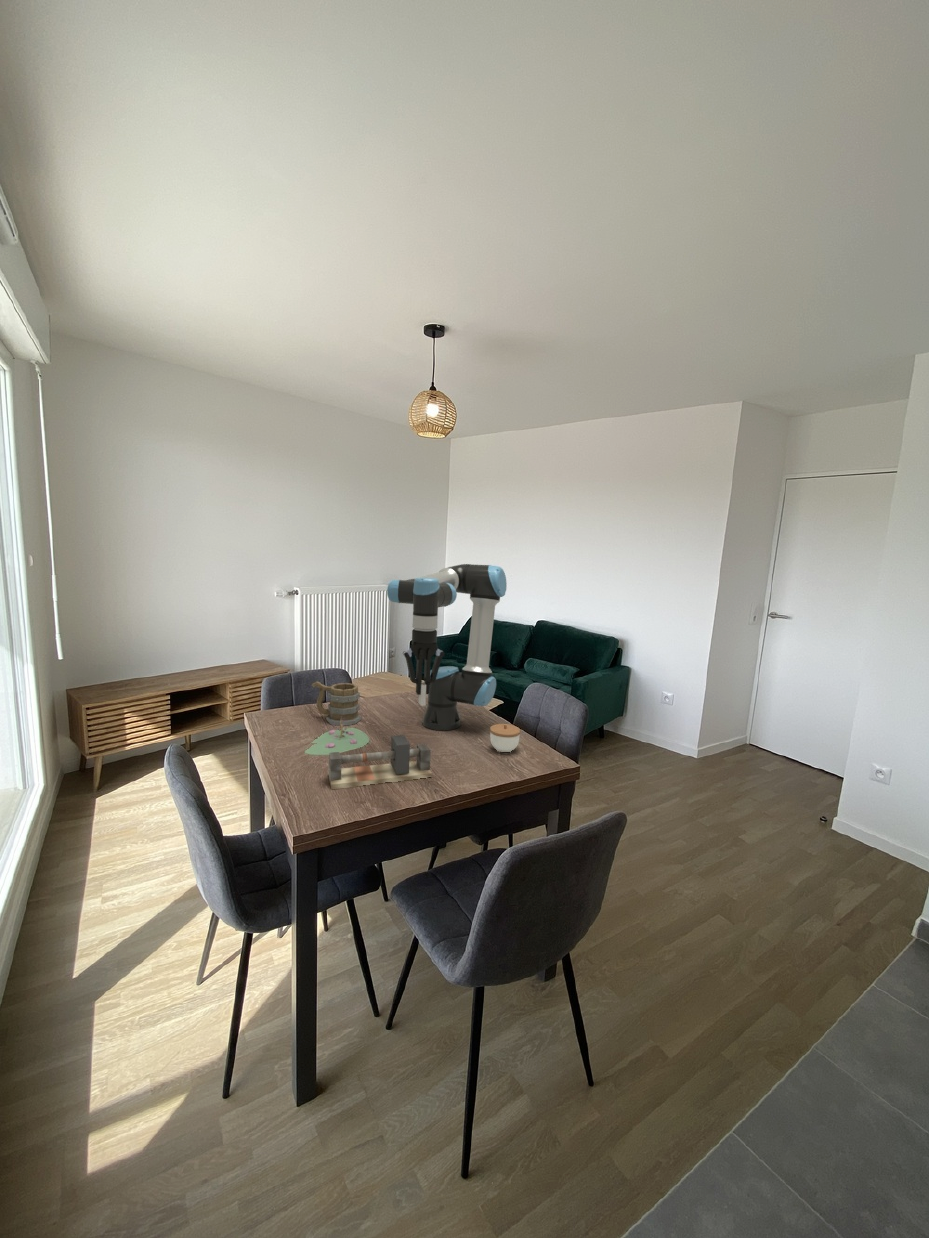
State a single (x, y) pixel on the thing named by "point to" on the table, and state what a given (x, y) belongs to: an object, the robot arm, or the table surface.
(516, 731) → the lidded jar
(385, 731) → the table surface
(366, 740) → the plant
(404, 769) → the collar
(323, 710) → the tankard
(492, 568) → the robot arm
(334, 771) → the grey sliding block rail
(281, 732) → the table surface
